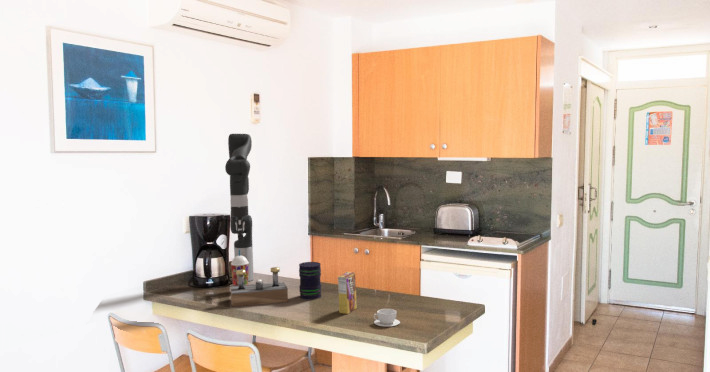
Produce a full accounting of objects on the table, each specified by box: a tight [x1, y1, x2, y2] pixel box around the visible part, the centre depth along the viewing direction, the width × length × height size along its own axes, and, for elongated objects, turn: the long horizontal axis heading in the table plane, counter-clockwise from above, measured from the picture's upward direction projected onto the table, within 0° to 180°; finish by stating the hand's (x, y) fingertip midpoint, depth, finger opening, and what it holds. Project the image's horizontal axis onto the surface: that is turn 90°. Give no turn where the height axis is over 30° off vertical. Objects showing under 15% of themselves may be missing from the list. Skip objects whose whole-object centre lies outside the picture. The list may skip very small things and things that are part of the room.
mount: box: [230, 281, 289, 307], centre depth 254 cm, size 12×24×6 cm, turn 104°
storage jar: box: [298, 261, 322, 301], centre depth 258 cm, size 10×10×15 cm
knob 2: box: [270, 266, 281, 287], centre depth 255 cm, size 4×4×9 cm
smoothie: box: [230, 250, 249, 286], centre depth 269 cm, size 8×8×20 cm
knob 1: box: [236, 270, 246, 290], centre depth 252 cm, size 4×4×9 cm
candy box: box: [337, 271, 357, 315], centre depth 236 cm, size 9×4×15 cm, turn 156°
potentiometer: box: [255, 279, 263, 290], centre depth 250 cm, size 3×3×4 cm
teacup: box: [373, 308, 401, 328], centre depth 219 cm, size 10×10×5 cm
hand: (240, 241), depth 252 cm, fingers open, 8 cm apart
